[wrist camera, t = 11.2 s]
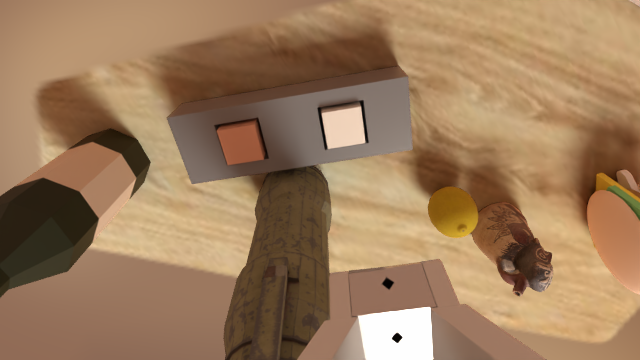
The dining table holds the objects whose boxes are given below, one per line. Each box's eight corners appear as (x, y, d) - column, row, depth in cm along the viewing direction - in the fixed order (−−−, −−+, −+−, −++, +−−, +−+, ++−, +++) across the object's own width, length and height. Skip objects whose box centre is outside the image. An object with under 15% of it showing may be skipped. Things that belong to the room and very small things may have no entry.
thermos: (271, 232, 52) (205, 599, 21) (252, 155, 47) (127, 498, 16) (335, 225, 52) (361, 589, 21) (323, 146, 46) (336, 481, 15)
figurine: (525, 236, 53) (576, 301, 42) (474, 250, 54) (511, 317, 43) (518, 195, 50) (572, 254, 39) (464, 211, 51) (502, 273, 40)
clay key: (259, 113, 42) (254, 124, 39) (267, 146, 44) (263, 159, 41) (224, 119, 42) (216, 130, 39) (234, 152, 44) (227, 165, 41)
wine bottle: (75, 125, 45) (-273, 337, 19) (146, 131, 45) (-97, 347, 19) (89, 186, 49) (-181, 432, 23) (154, 191, 49) (-37, 439, 23)
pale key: (357, 96, 41) (360, 106, 38) (362, 131, 43) (365, 143, 40) (321, 103, 41) (321, 113, 38) (327, 136, 43) (327, 149, 40)
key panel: (398, 65, 42) (408, 76, 37) (403, 132, 45) (412, 149, 41) (182, 103, 44) (166, 117, 39) (203, 164, 47) (191, 184, 43)
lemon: (422, 215, 51) (439, 253, 44) (420, 179, 48) (437, 214, 41) (464, 208, 51) (487, 246, 44) (464, 172, 48) (489, 206, 41)
